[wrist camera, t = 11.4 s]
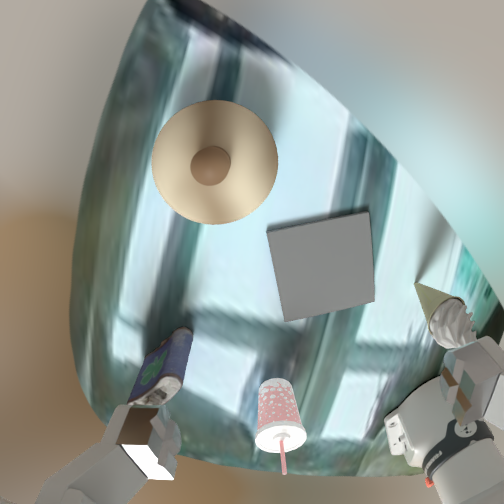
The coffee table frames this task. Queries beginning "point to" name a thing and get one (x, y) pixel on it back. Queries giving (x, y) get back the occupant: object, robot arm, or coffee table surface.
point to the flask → (163, 370)
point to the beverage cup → (278, 419)
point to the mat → (323, 265)
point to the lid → (214, 162)
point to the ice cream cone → (446, 317)
